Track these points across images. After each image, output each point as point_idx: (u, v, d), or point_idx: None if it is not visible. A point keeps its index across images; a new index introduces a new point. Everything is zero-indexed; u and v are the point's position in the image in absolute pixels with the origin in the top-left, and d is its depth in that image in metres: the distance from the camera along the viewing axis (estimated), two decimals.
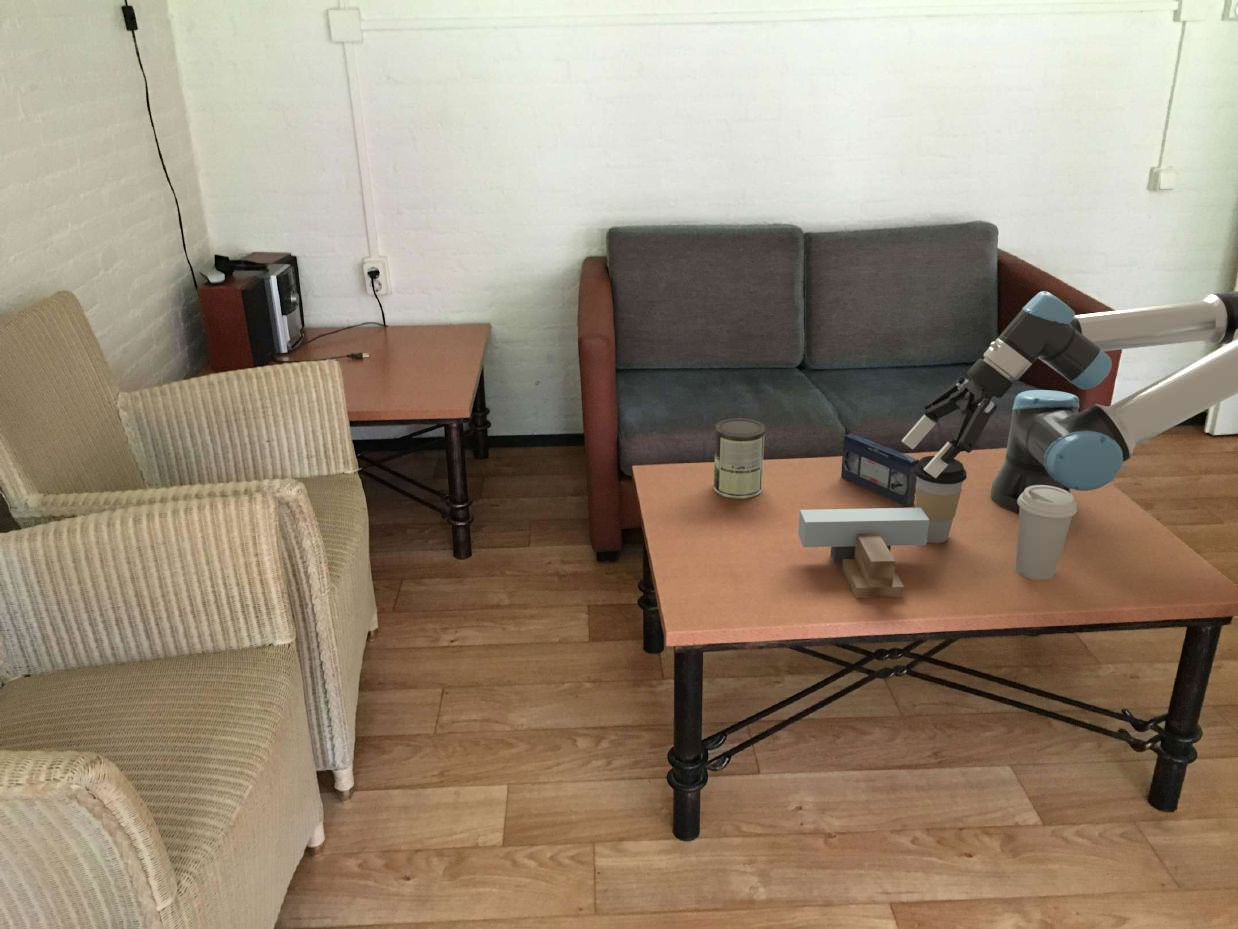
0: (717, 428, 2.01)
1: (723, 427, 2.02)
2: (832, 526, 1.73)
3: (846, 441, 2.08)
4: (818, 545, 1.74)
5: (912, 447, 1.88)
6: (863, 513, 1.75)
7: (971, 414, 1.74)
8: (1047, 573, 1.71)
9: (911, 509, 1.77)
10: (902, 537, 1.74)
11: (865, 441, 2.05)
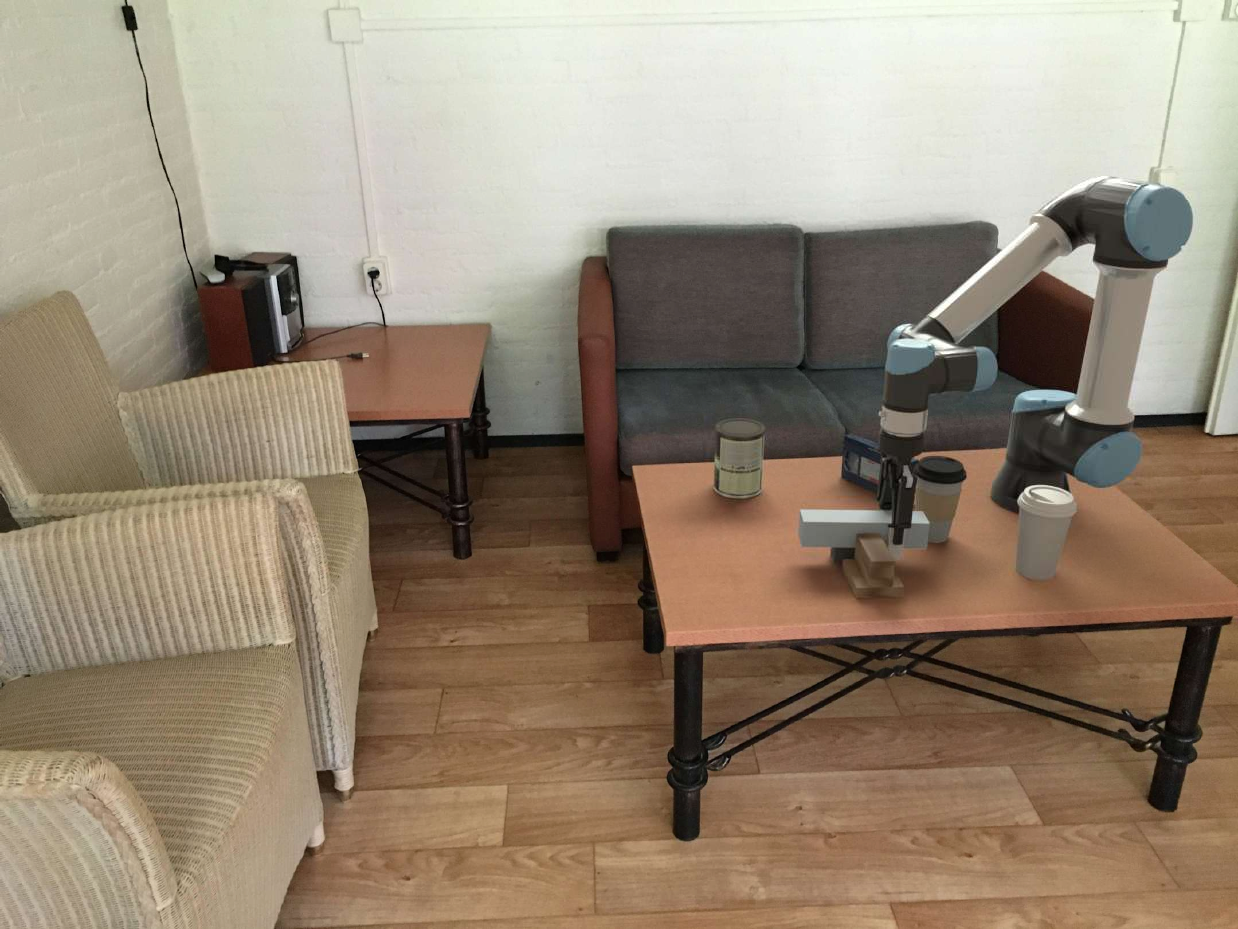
0: (717, 428, 2.01)
1: (723, 427, 2.02)
2: (830, 526, 1.73)
3: (846, 441, 2.08)
4: (816, 545, 1.74)
5: None
6: (863, 514, 1.75)
7: None
8: (1047, 573, 1.71)
9: (913, 512, 1.76)
10: None
11: (865, 441, 2.05)
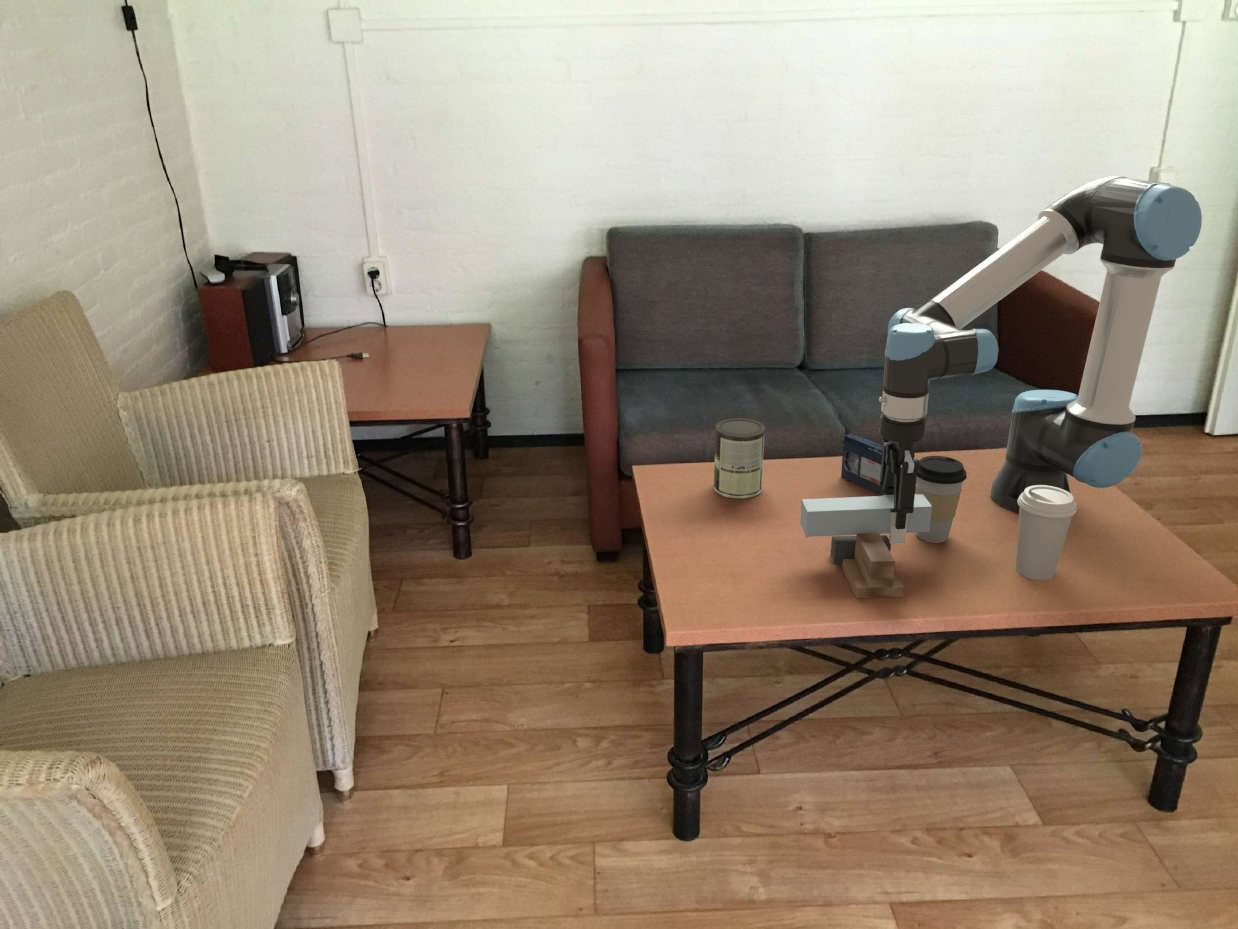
0: (717, 428, 2.01)
1: (723, 427, 2.02)
2: (834, 515, 1.72)
3: (846, 441, 2.08)
4: (821, 534, 1.74)
5: None
6: (865, 501, 1.75)
7: None
8: (1047, 573, 1.71)
9: None
10: None
11: (865, 441, 2.05)
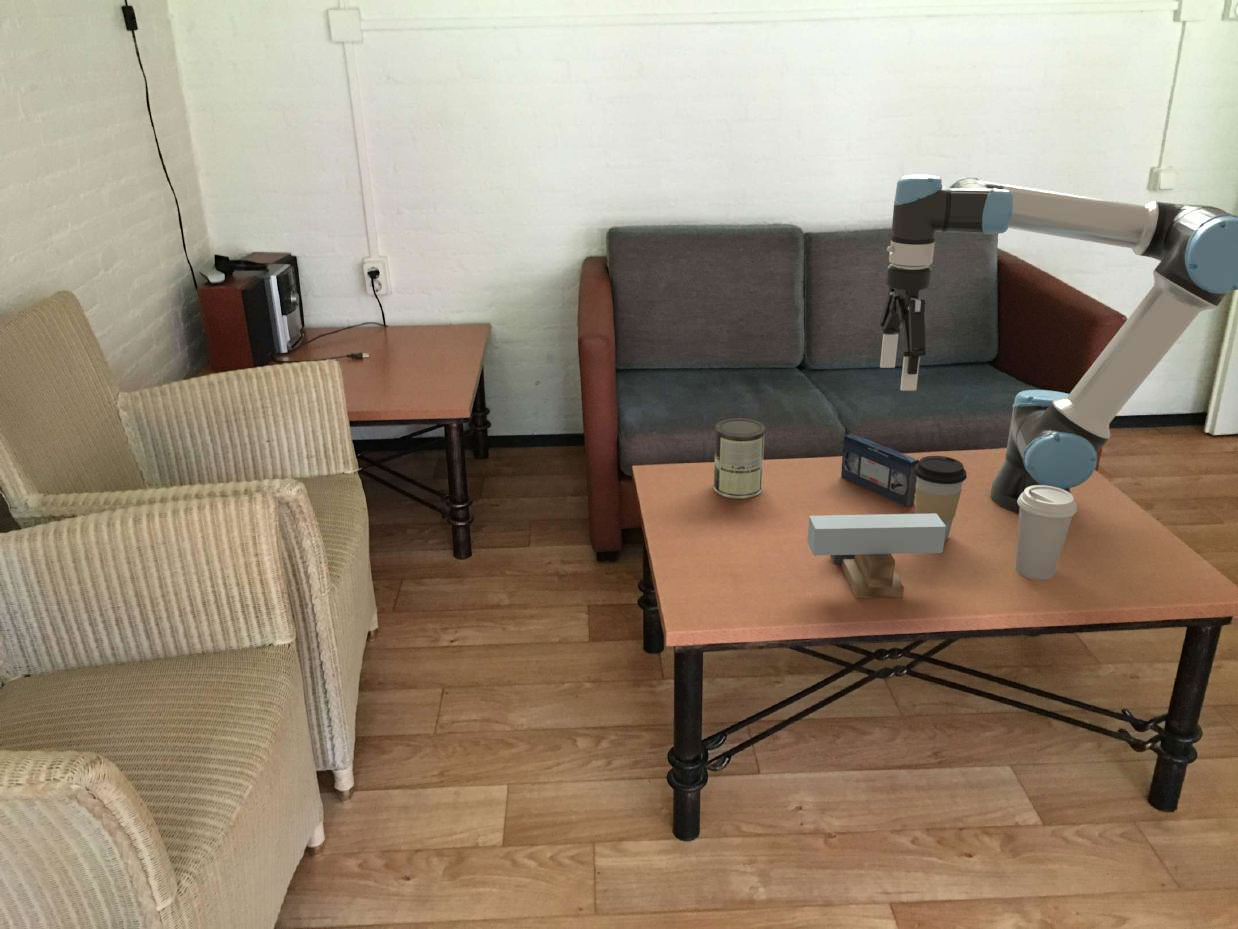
0: (717, 428, 2.01)
1: (723, 427, 2.02)
2: (843, 533, 1.64)
3: (846, 441, 2.08)
4: (829, 553, 1.65)
5: (893, 366, 1.89)
6: (876, 519, 1.67)
7: None
8: (1047, 573, 1.71)
9: (926, 515, 1.68)
10: (917, 545, 1.65)
11: (865, 441, 2.05)
